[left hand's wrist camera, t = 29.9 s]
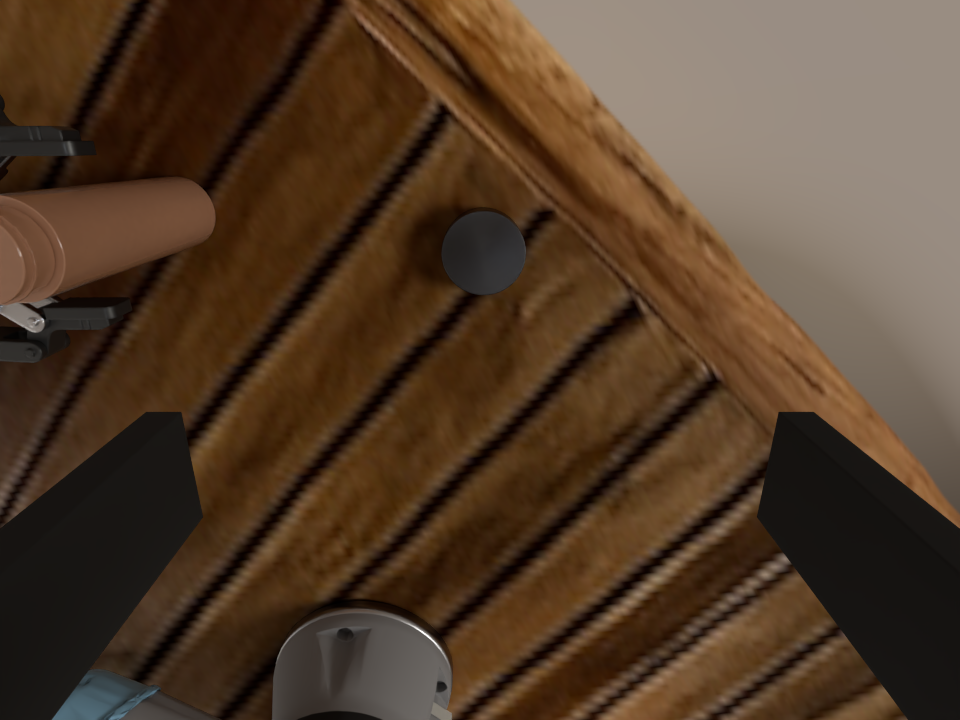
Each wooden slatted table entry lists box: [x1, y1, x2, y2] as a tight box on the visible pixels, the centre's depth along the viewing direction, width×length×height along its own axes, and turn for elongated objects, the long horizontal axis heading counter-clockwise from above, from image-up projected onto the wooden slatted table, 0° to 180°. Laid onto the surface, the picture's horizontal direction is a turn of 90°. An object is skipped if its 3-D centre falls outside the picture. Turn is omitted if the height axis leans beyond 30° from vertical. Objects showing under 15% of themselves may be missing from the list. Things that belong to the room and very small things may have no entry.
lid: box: [442, 208, 526, 295], centre depth 36 cm, size 5×5×2 cm
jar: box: [0, 176, 215, 305], centre depth 29 cm, size 4×4×16 cm
